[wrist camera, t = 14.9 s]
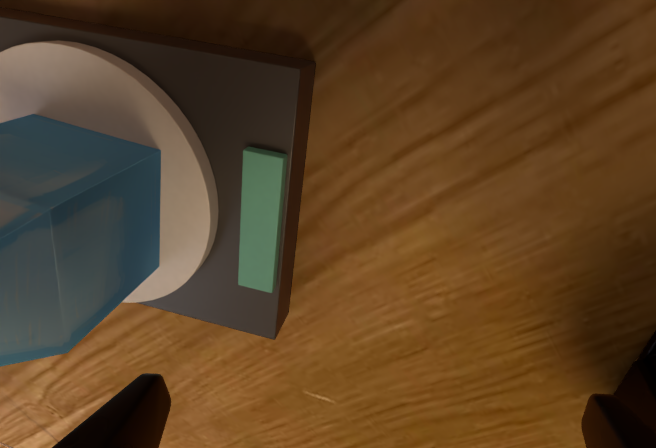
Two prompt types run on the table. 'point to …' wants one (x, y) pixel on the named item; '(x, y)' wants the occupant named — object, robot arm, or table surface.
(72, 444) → the robot arm
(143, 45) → the kitchen scale
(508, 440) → the table surface
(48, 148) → the perfume bottle
